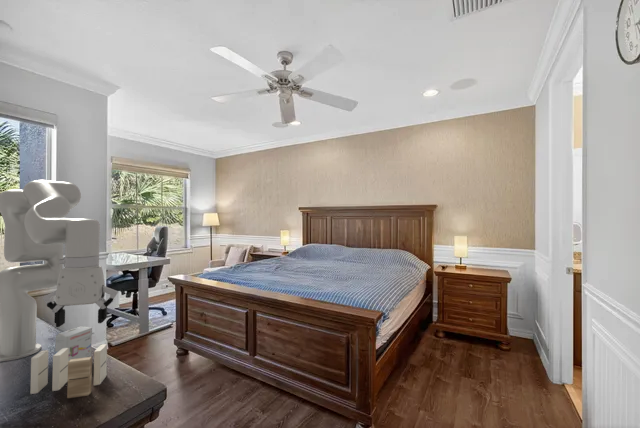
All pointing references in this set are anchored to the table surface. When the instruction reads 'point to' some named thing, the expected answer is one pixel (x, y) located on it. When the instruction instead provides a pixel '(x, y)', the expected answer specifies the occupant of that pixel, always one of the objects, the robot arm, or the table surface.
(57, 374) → the domino
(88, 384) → the domino
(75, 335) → the ink box
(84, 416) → the table surface
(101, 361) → the domino
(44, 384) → the domino
